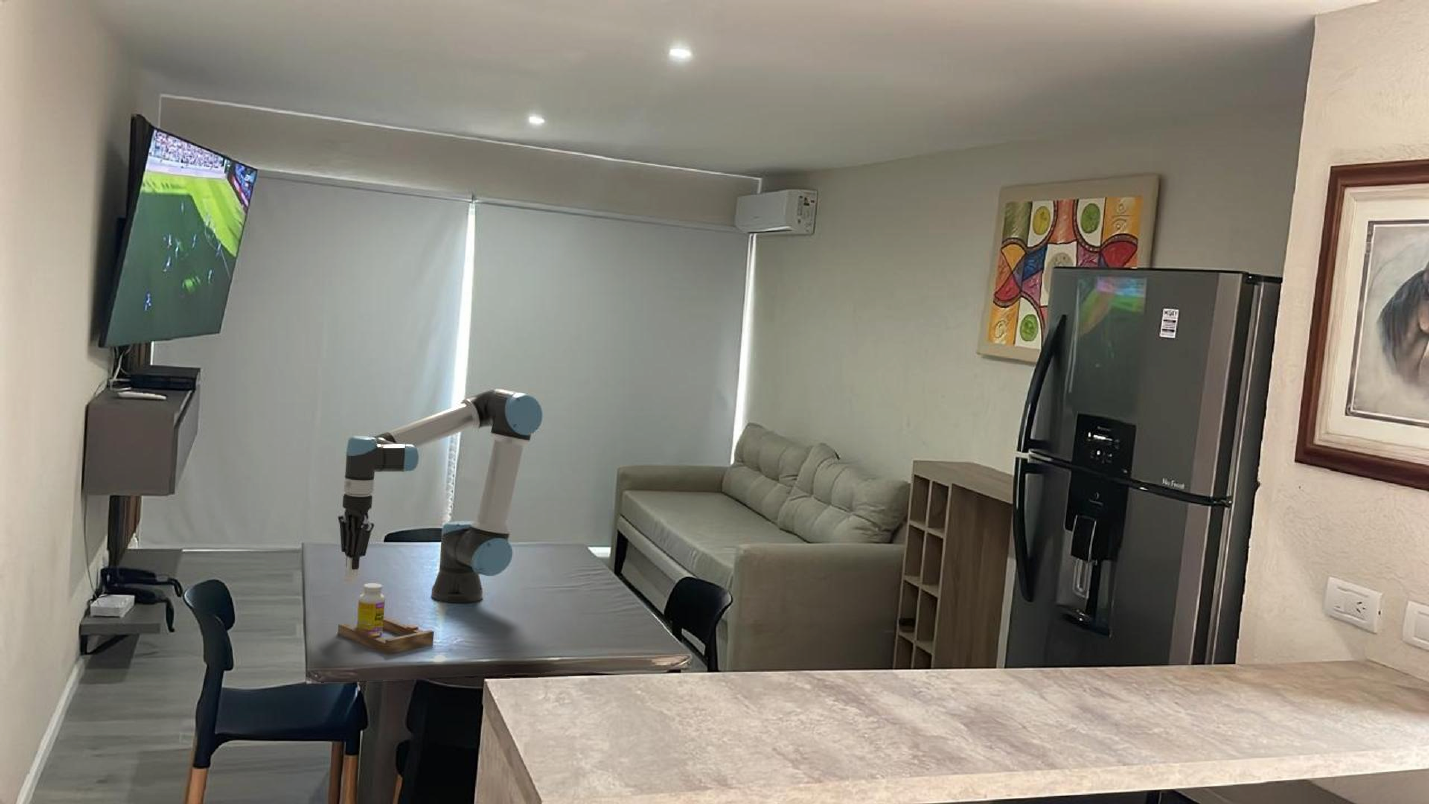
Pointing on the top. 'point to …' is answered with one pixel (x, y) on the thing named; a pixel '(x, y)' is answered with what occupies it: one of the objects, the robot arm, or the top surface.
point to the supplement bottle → (371, 609)
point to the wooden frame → (406, 641)
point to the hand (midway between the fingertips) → (351, 580)
